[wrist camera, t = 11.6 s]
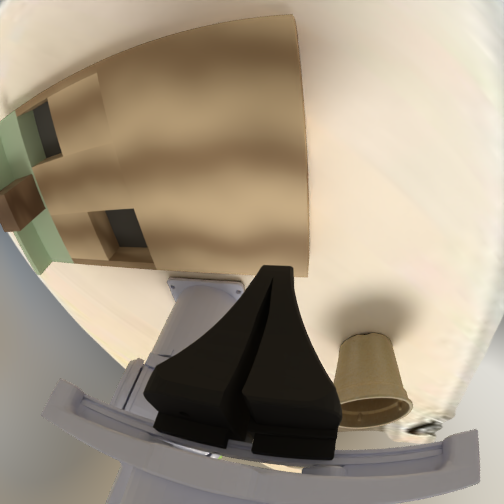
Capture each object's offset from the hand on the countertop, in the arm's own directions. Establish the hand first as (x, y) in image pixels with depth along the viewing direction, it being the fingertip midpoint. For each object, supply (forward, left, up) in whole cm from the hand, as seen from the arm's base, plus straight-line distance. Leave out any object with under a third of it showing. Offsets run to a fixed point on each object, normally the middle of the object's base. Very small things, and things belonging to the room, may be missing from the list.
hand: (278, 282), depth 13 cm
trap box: (+3, +14, -9) cm, 17 cm away
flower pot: (-19, -8, -10) cm, 23 cm away
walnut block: (+3, +26, -7) cm, 27 cm away
